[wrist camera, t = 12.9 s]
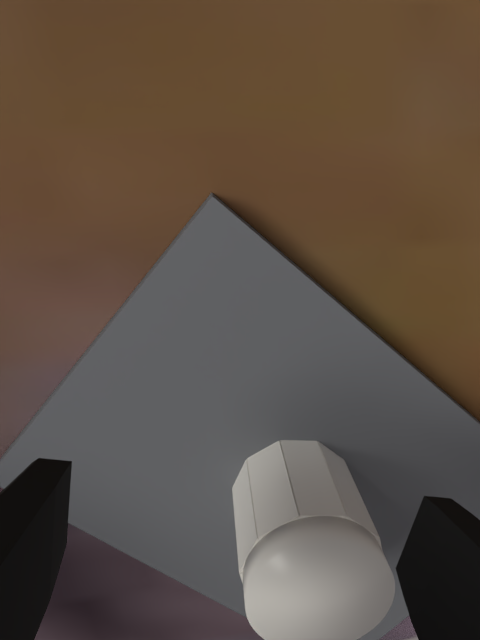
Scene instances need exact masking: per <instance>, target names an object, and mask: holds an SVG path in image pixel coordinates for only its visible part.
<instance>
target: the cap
mask: <svg viewBox="0 0 480 640" xmlns="http://www.w3.org/2000/svg"><path fill="white" fill-rule="evenodd" d="M232 493H233V506H234V518H235V530H236V542H237V554H238V566H239V574H240V577H241V580H242V583H243V591H244V602H245V611H246V616H247V619H248V621H249V623H250V625H251V626H252V628H253V629H254V630H255V632H256V633H257V634H258V635H259V636H261V637H262V638H263V639H265V640H357V639H359V638H360V637H362V636H364V635H365V634H367V633H368V632H370V631H371V630H372V629H373V628H375V627H376V626H377V625H378V624H379V623H380V622H381V620H382V619H383V618H384V617H385V615H386V614H387V612H388V611H389V609H390V607H391V605H392V602H393V599H394V595H395V580H394V576H393V573H392V571H391V569H390V567H389V564H388V562H387V560H386V558H385V556H384V553H383V551H382V546H381V540H380V537H379V535H378V533H377V530H376V528H375V526H374V524H373V522H372V519H371V517H370V515H369V513H368V511H367V509H366V506H365V504H364V502H363V500H362V498H361V495H360V493H359V491H358V489H357V487H356V484H355V482H354V480H353V478H352V476H351V473H350V471H349V469H348V467H347V465H346V463H345V461H344V459H342V458H341V457H339V456H338V455H337V454H335V453H334V452H333V451H331V450H330V449H328V448H327V447H326V446H324V445H323V444H321V443H320V442H319V441H318V442H317V441H304V440H280V441H277V442H275V443H273V444H272V445H270V446H268V447H266V448H264V449H263V450H261V451H259V452H257V453H255V454H254V455H252V456H250V457H248V458H247V459H246V460H245V462H244V464H243V467H242V469H241V471H240V473H239V475H238V477H237V479H236V481H235V483H234V485H233V487H232Z"/></svg>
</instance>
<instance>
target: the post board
mask: <svg viewBox="0 0 480 640" xmlns="http://www.w3.org/2000/svg"><path fill="white" fill-rule="evenodd" d="M280 440H304V441H317V442H318V441H319V442H320V443H321V444H323V445H324V446H326V447H327V448H328V449H330V450H331V451H333V452H334V453H335V454H337V455H338V456H339V457H341V458H342V459H344V461H345V463H346V465H347V467H348V469H349V471H350V473H351V476H352V478H353V480H354V482H355V484H356V487H357V489H358V491H359V493H360V495H361V498H362V500H363V502H364V504H365V506H366V509H367V511H368V513H369V515H370V517H371V519H372V522H373V524H374V526H375V528H376V530H377V533H378V535H379V537H380V540H381V546H382V551H383V553H384V556H385V558H386V560H387V562H388V564H389V567H390V569H391V571H392V573H393V576H394V580H395V595H394V599H393V602H392V605H391V607H390V609H389V611H388V612H387V614H386V615H385V617H384V618H383V619H382V620H381V622H380V623H379V624H378V625H377V626H376V627H375V628H373V629H372V630H371V631H370V632H368V633H367V634H365V635H364V636H362V637H360V638H359V639H357V640H379V639H380V638H381V637H383V636H384V635H385V634H386V633H388V632H389V631H390V630H391V629H393V628H394V627H395V626H396V625H397V624H399V623H400V622H401V621H402V620H404V619H405V618H406V617H407V616H409V612H408V609H407V606H406V603H405V600H404V597H403V593H402V590H401V586H400V583H399V579H398V575H397V572H396V566H397V563H398V561H399V558H400V556H401V553H402V551H403V548H404V546H405V543H406V540H407V538H408V535H409V533H410V530H411V528H412V525H413V523H414V520H415V518H416V515H417V513H418V510H419V507H420V505H421V502H422V500H423V497H424V496H432V497H442V498H451V499H453V500H454V501H455V502H457V503H458V504H460V505H461V506H462V507H464V508H465V509H466V510H468V511H469V512H470V513H472V514H473V515H474V516H475V517H477V518H478V519H479V520H480V422H479V421H478V420H477V419H476V418H475V417H473V416H472V415H471V414H470V413H469V412H468V411H466V410H465V409H464V408H463V407H462V406H461V405H459V404H458V403H457V402H456V401H455V400H454V399H452V398H451V397H450V396H449V395H448V394H447V393H445V392H444V391H443V390H442V389H441V388H440V387H438V386H437V385H436V384H435V383H434V382H433V381H431V380H430V379H429V378H428V377H427V376H426V375H424V374H423V373H422V372H421V371H420V370H419V369H417V368H416V367H415V366H414V365H413V364H412V363H410V362H409V361H408V360H407V359H406V358H405V357H403V356H402V355H401V354H400V353H399V352H398V351H396V350H395V349H394V348H393V347H392V346H391V345H389V344H388V343H387V342H386V341H385V340H383V339H382V338H381V337H380V336H379V335H378V334H376V333H375V332H374V331H373V330H372V329H371V328H369V327H368V326H367V325H366V324H365V323H364V322H362V321H361V320H360V319H359V318H358V317H357V316H355V315H354V314H353V313H352V312H351V311H350V310H348V309H347V308H346V307H345V306H344V305H343V304H341V303H340V302H339V301H338V300H337V299H336V298H334V297H333V296H332V295H331V294H330V293H329V292H327V291H326V290H325V289H324V288H323V287H322V286H320V285H319V284H318V283H317V282H316V281H315V280H313V279H312V278H311V277H310V276H309V275H308V274H306V273H305V272H304V271H303V270H302V269H301V268H299V267H298V266H297V265H296V264H295V263H294V262H292V261H291V260H290V259H289V258H288V257H286V256H285V255H284V254H283V253H282V252H281V251H279V250H278V249H277V248H276V247H275V246H274V245H272V244H271V243H270V242H269V241H268V240H267V239H265V238H264V237H263V236H262V235H261V234H260V233H258V232H257V231H256V230H255V229H254V228H253V227H251V226H250V225H249V224H248V223H247V222H246V221H244V220H243V219H242V218H241V217H240V216H239V215H237V214H236V213H235V212H234V211H233V210H232V209H230V208H229V207H228V206H227V205H226V204H225V203H223V202H222V201H221V200H220V199H219V198H218V197H216V196H215V195H214V194H213V193H211V194H210V195H209V196H208V198H207V199H206V200H205V201H204V203H203V204H202V205H201V206H200V208H199V209H198V210H197V212H196V213H195V214H194V215H193V217H192V218H191V219H190V220H189V222H188V223H187V224H186V225H185V227H184V228H183V229H182V230H181V232H180V233H179V234H178V235H177V237H176V238H175V239H174V240H173V242H172V243H171V244H170V246H169V247H168V248H167V249H166V251H165V252H164V253H163V254H162V256H161V257H160V258H159V259H158V261H157V262H156V263H155V264H154V266H153V267H152V268H151V269H150V271H149V272H148V273H147V274H146V276H145V277H144V278H143V280H142V281H141V282H140V283H139V285H138V286H137V287H136V288H135V290H134V291H133V292H132V293H131V295H130V296H129V297H128V298H127V300H126V301H125V302H124V303H123V305H122V306H121V307H120V308H119V310H118V311H117V312H116V313H115V315H114V316H113V317H112V319H111V320H110V321H109V322H108V324H107V325H106V326H105V327H104V329H103V330H102V331H101V332H100V334H99V335H98V336H97V337H96V339H95V340H94V341H93V342H92V344H91V345H90V346H89V347H88V349H87V350H86V351H85V353H84V354H83V355H82V356H81V358H80V359H79V360H78V361H77V363H76V364H75V365H74V366H73V368H72V369H71V370H70V371H69V373H68V374H67V375H66V376H65V378H64V379H63V380H62V381H61V383H60V384H59V385H58V387H57V388H56V389H55V390H54V392H53V393H52V394H51V395H50V397H49V398H48V399H47V400H46V402H45V403H44V404H43V405H42V407H41V408H40V409H39V410H38V412H37V413H36V414H35V415H34V417H33V418H32V419H31V420H30V422H29V423H28V424H27V426H26V427H25V428H24V429H23V431H22V432H21V433H20V434H19V436H18V437H17V438H16V439H15V441H14V442H13V443H12V444H11V446H10V447H9V448H8V449H7V451H6V452H5V453H4V454H3V456H2V457H1V459H0V487H1V488H3V489H5V488H6V487H7V486H8V485H9V484H10V483H11V482H12V481H13V480H14V479H15V478H16V477H17V476H18V475H20V474H21V473H22V472H23V471H24V470H25V469H26V468H27V467H28V466H29V465H30V464H31V463H32V462H34V461H35V460H36V459H38V458H45V459H55V460H65V461H72V468H71V483H70V498H69V513H68V523H69V524H71V525H73V526H75V527H77V528H79V529H80V530H82V531H84V532H86V533H88V534H90V535H92V536H94V537H96V538H97V539H99V540H101V541H103V542H105V543H107V544H109V545H111V546H112V547H114V548H116V549H118V550H120V551H122V552H124V553H126V554H128V555H129V556H131V557H133V558H135V559H137V560H139V561H141V562H143V563H144V564H146V565H148V566H150V567H152V568H154V569H156V570H158V571H160V572H161V573H163V574H165V575H167V576H169V577H171V578H173V579H175V580H176V581H178V582H180V583H182V584H184V585H186V586H188V587H190V588H192V589H193V590H195V591H197V592H199V593H201V594H203V595H205V596H207V597H208V598H210V599H212V600H214V601H216V602H218V603H220V604H222V605H224V606H225V607H227V608H229V609H231V610H233V611H235V612H237V613H239V614H240V615H242V616H244V617H246V618H247V616H246V611H245V602H244V591H243V583H242V580H241V577H240V574H239V566H238V554H237V542H236V530H235V518H234V506H233V493H232V487H233V485H234V483H235V481H236V479H237V477H238V475H239V473H240V471H241V469H242V467H243V464H244V462H245V460H246V459H247V458H248V457H250V456H252V455H254V454H255V453H257V452H259V451H261V450H263V449H264V448H266V447H268V446H270V445H272V444H273V443H275V442H277V441H280Z"/></svg>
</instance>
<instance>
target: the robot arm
mask: <svg viewBox="0 0 480 640" xmlns="http://www.w3.org/2000/svg"><path fill="white" fill-rule="evenodd" d="M71 468H72V461H65V460H55V459H45V458H38V459H36V460H35V461H34V462H32V463H31V464H30V465H29V466H28V467H27V468H26V469H25V470H24V471H23V472H22V473H21V474H20V475H18V476H17V477H16V478H15V479H14V480H13V481H12V482H11V483H10V484H9V485H8V486H7V487H6V488H5V489H4V490H3V491H1V492H0V640H34V639H35V636H36V634H37V631H38V629H39V626H40V624H41V621H42V619H43V616H44V614H45V611H46V609H47V606H48V604H49V601H50V598H51V595H52V591H53V588H54V585H55V581H56V578H57V575H58V571H59V568H60V564H61V561H62V558H63V554H64V551H65V547H66V543H67V528H68V513H69V498H70V483H71ZM396 572H397V575H398V579H399V583H400V586H401V590H402V593H403V597H404V600H405V603H406V606H407V609H408V612H409V616H410V619H411V622H412V624H413V627H414V629H415V632H416V634H417V636H418V639H419V640H480V520H479V519H478V518H477V517H475V516H474V515H473V514H472V513H470V512H469V511H468V510H466V509H465V508H464V507H462V506H461V505H460V504H458V503H457V502H455V501H454V500H453V499H451V498H442V497H432V496H424V497H423V500H422V502H421V505H420V507H419V510H418V513H417V515H416V518H415V520H414V523H413V525H412V528H411V530H410V533H409V535H408V538H407V540H406V543H405V546H404V548H403V551H402V553H401V556H400V558H399V561H398V563H397V566H396Z"/></svg>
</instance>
